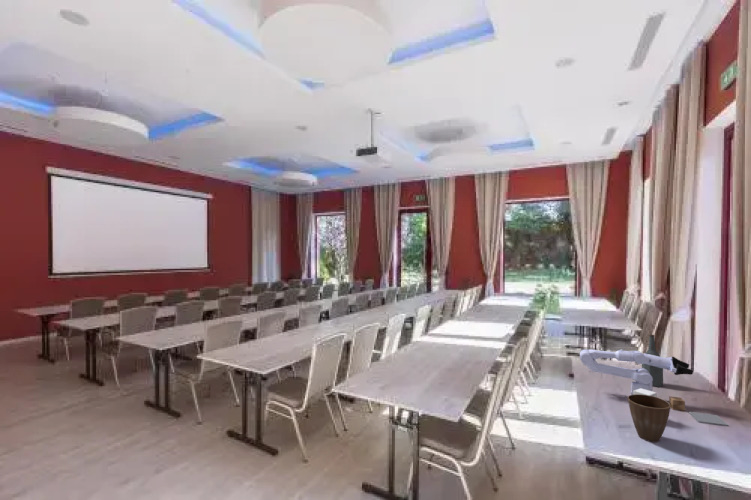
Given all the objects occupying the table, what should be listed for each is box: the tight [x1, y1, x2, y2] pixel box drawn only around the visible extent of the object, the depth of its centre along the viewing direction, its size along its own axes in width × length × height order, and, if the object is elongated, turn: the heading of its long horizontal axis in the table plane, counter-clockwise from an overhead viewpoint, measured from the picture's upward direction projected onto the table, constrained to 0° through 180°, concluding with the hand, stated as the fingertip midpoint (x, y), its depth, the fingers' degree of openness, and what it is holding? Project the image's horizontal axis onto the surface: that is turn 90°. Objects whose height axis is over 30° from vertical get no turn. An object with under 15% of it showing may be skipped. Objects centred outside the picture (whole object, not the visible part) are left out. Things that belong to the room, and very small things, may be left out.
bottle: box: [641, 333, 664, 388], centre depth 225 cm, size 10×10×30 cm
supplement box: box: [633, 388, 658, 398], centre depth 181 cm, size 7×7×13 cm
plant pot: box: [627, 394, 671, 443], centre depth 161 cm, size 15×15×16 cm
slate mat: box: [688, 411, 729, 427], centre depth 178 cm, size 11×11×1 cm
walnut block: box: [668, 396, 686, 412], centre depth 190 cm, size 5×5×5 cm
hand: (690, 369), depth 193 cm, fingers open, 7 cm apart
